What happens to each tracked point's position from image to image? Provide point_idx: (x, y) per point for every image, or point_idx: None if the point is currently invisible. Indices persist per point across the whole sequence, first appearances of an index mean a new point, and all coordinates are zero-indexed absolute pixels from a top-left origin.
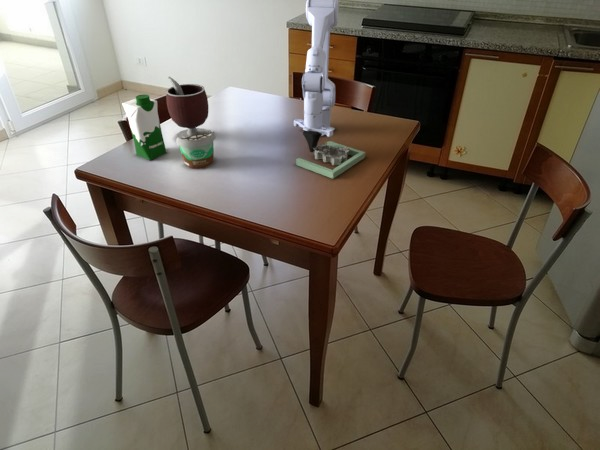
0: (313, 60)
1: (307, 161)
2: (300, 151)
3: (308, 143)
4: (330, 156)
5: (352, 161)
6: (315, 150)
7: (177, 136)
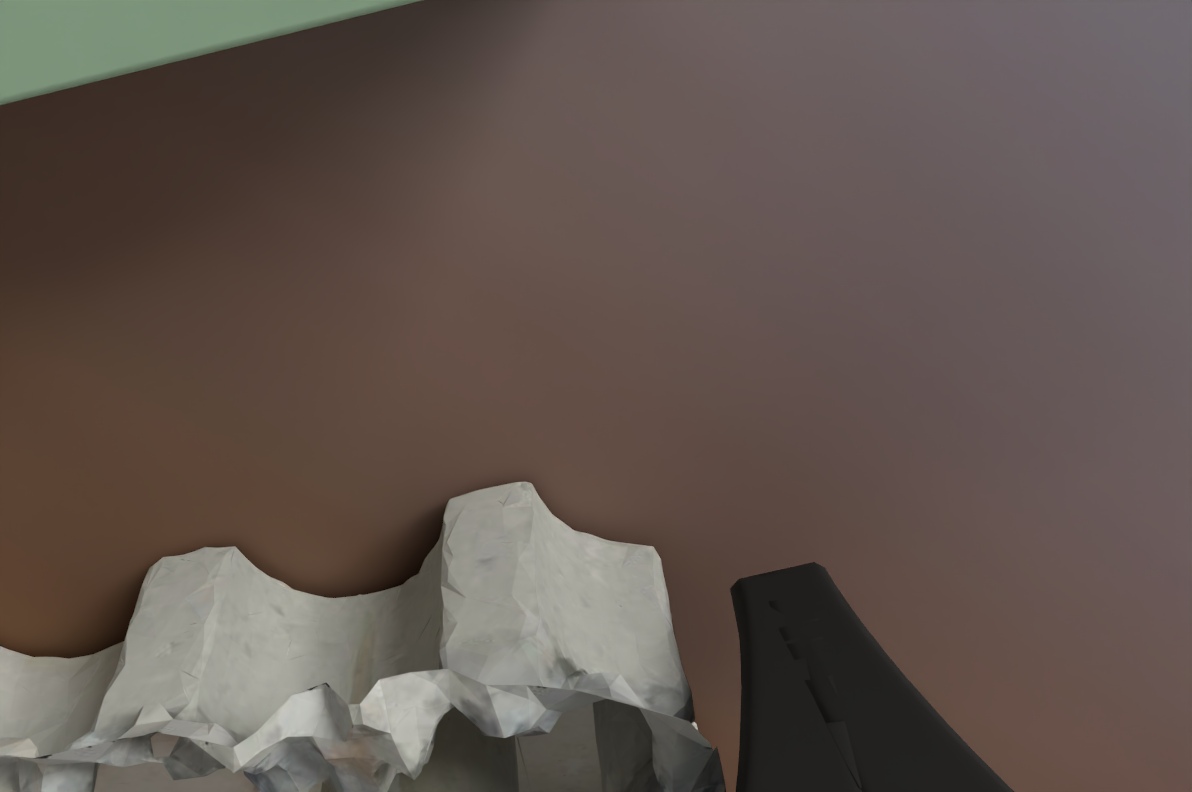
0: None
1: (92, 29)
2: (1169, 427)
3: (935, 783)
4: None
5: None
6: (519, 697)
7: None
